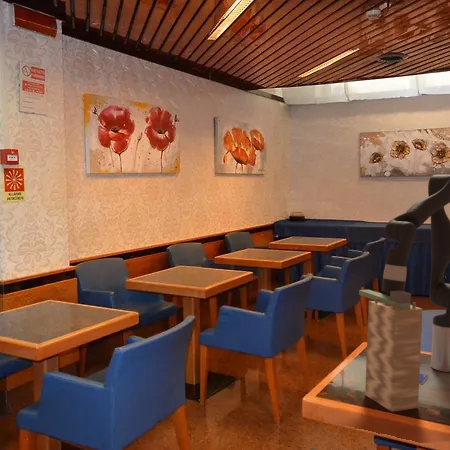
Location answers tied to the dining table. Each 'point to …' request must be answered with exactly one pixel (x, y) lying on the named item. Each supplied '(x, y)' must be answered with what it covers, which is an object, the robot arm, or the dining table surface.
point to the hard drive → (422, 378)
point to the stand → (393, 355)
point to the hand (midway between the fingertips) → (388, 325)
